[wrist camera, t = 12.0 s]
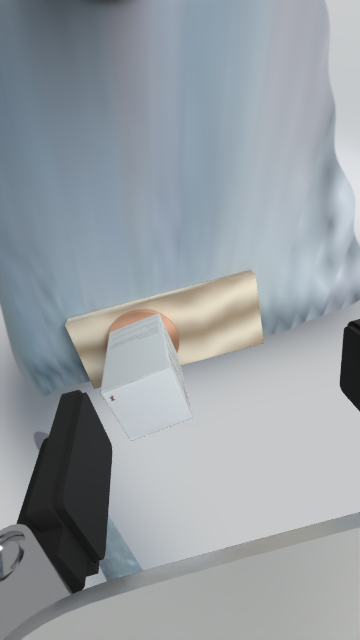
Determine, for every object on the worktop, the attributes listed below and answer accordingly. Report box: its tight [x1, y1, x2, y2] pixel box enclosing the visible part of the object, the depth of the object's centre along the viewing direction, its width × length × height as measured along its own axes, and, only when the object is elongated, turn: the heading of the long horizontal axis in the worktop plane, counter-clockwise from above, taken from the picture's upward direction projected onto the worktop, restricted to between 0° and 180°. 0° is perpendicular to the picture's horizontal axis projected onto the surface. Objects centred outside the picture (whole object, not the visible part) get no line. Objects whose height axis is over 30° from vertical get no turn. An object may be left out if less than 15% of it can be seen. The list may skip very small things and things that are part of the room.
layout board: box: [65, 270, 263, 389], centre depth 43 cm, size 11×26×3 cm, turn 103°
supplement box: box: [100, 313, 193, 441], centre depth 35 cm, size 7×7×13 cm
